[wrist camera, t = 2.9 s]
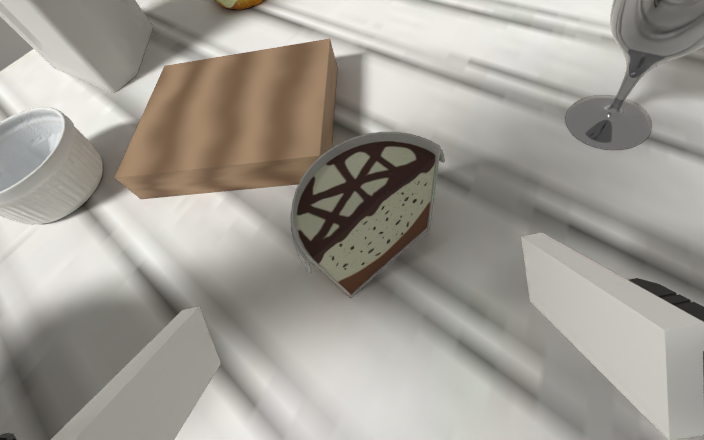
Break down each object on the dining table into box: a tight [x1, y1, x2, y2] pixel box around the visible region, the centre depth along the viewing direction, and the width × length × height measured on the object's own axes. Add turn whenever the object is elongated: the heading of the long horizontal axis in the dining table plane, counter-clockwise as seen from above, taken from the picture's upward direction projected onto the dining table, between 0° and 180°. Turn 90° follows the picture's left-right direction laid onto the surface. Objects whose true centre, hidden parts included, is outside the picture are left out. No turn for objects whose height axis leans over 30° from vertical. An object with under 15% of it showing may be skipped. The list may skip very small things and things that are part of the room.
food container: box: [291, 132, 445, 298], centre depth 28 cm, size 12×6×10 cm, turn 130°
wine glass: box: [565, 0, 704, 150], centre depth 28 cm, size 8×8×15 cm
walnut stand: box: [114, 39, 337, 199], centre depth 41 cm, size 22×18×4 cm
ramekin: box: [0, 107, 103, 225], centre depth 41 cm, size 13×13×7 cm
